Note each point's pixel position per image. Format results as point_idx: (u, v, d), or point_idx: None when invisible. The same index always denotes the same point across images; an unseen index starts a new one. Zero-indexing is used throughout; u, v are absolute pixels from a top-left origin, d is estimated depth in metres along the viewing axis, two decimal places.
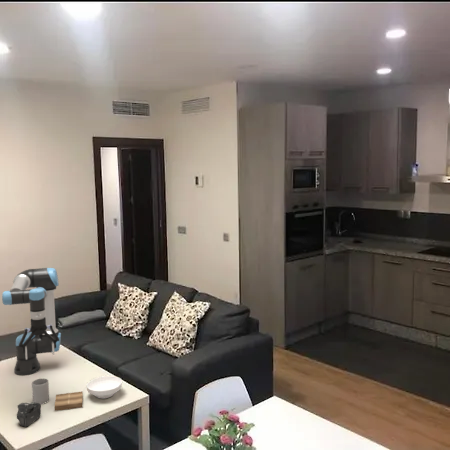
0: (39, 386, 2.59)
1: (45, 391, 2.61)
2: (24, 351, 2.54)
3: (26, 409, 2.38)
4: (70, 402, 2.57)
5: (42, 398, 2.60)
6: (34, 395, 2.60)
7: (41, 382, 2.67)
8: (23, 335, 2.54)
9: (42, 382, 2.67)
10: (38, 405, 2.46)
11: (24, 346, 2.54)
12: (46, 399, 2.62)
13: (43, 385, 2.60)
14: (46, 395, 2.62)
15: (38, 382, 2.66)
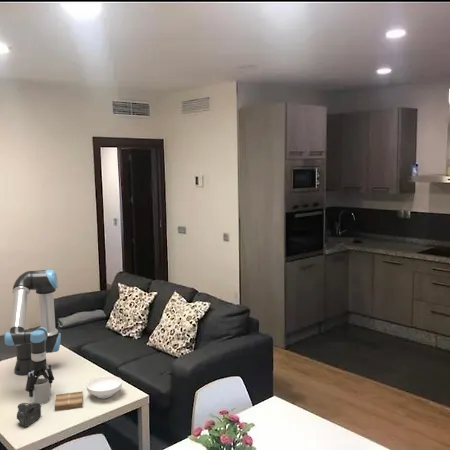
0: (39, 386, 2.59)
1: (45, 391, 2.61)
2: (32, 395, 2.59)
3: (26, 409, 2.38)
4: (70, 402, 2.57)
5: (42, 398, 2.61)
6: None
7: (41, 382, 2.67)
8: (29, 380, 2.58)
9: (42, 382, 2.67)
10: (38, 405, 2.46)
11: (32, 390, 2.59)
12: (46, 399, 2.62)
13: (43, 385, 2.60)
14: (46, 395, 2.62)
15: (38, 382, 2.66)
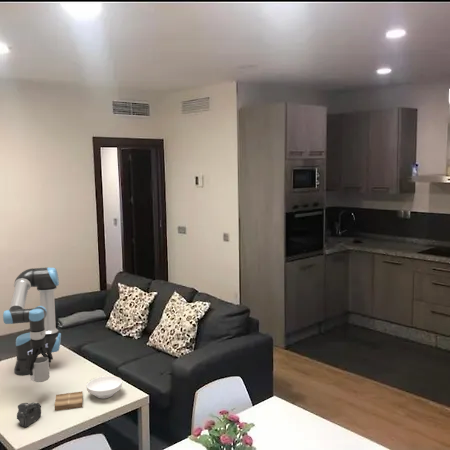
0: (39, 364, 2.59)
1: (45, 369, 2.61)
2: (32, 373, 2.59)
3: (26, 410, 2.38)
4: (70, 402, 2.57)
5: (42, 376, 2.60)
6: None
7: (41, 360, 2.66)
8: (28, 358, 2.57)
9: (42, 360, 2.67)
10: (38, 405, 2.46)
11: (32, 368, 2.58)
12: (46, 377, 2.62)
13: (43, 363, 2.60)
14: (46, 373, 2.62)
15: (38, 360, 2.66)
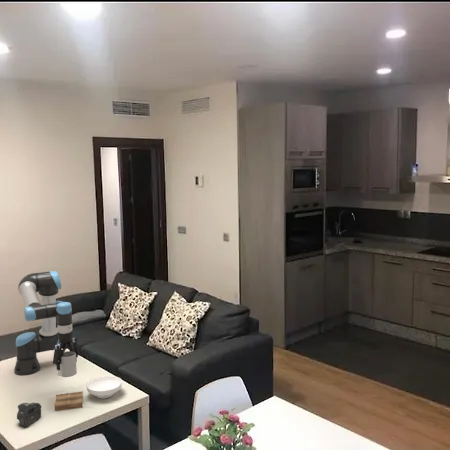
0: (67, 358, 2.53)
1: (73, 363, 2.56)
2: (59, 368, 2.53)
3: (26, 410, 2.38)
4: (70, 402, 2.57)
5: (70, 371, 2.55)
6: (62, 368, 2.54)
7: (68, 355, 2.61)
8: (56, 352, 2.51)
9: (69, 355, 2.61)
10: (38, 405, 2.46)
11: (60, 363, 2.53)
12: (74, 372, 2.56)
13: (71, 357, 2.54)
14: (73, 368, 2.56)
15: (65, 355, 2.60)
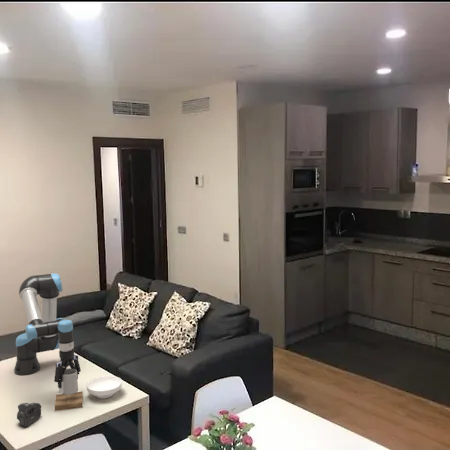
0: (68, 376, 2.54)
1: (74, 381, 2.57)
2: (60, 386, 2.55)
3: (26, 410, 2.38)
4: (70, 402, 2.57)
5: (71, 388, 2.56)
6: (63, 386, 2.55)
7: (69, 372, 2.62)
8: (57, 370, 2.53)
9: (70, 372, 2.62)
10: (38, 405, 2.46)
11: (61, 381, 2.54)
12: (75, 389, 2.58)
13: (72, 375, 2.55)
14: (75, 386, 2.57)
15: (66, 372, 2.62)
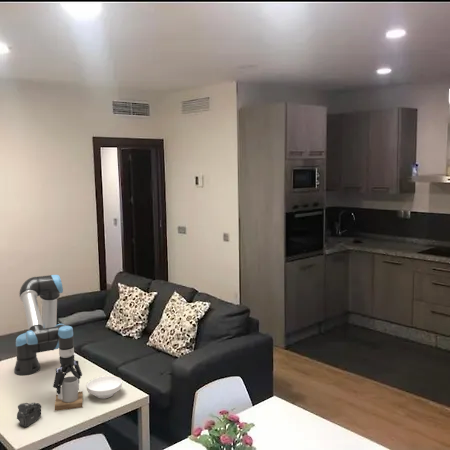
0: (69, 384, 2.55)
1: (75, 389, 2.57)
2: (59, 391, 2.54)
3: (26, 410, 2.38)
4: (70, 402, 2.57)
5: (72, 396, 2.56)
6: (64, 393, 2.56)
7: (70, 380, 2.63)
8: (57, 376, 2.53)
9: (71, 380, 2.63)
10: (38, 405, 2.45)
11: (60, 386, 2.54)
12: (75, 397, 2.58)
13: (73, 383, 2.56)
14: (75, 394, 2.58)
15: (67, 380, 2.62)
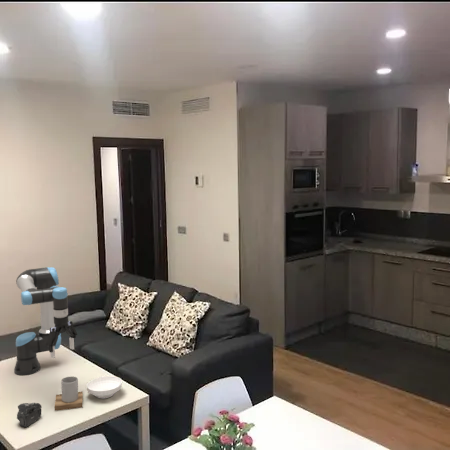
0: (69, 384, 2.55)
1: (75, 389, 2.57)
2: (52, 350, 2.58)
3: (26, 410, 2.38)
4: (70, 402, 2.57)
5: (72, 396, 2.56)
6: (64, 393, 2.56)
7: (70, 380, 2.63)
8: (51, 335, 2.57)
9: (71, 380, 2.63)
10: (39, 406, 2.45)
11: (52, 345, 2.57)
12: (75, 397, 2.58)
13: (73, 383, 2.56)
14: (75, 394, 2.58)
15: (67, 380, 2.62)
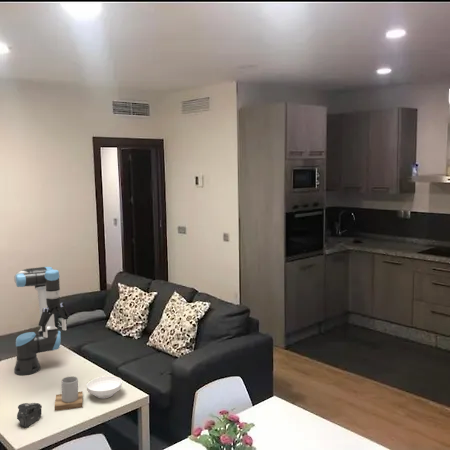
0: (69, 384, 2.55)
1: (75, 389, 2.57)
2: (44, 330, 2.68)
3: (26, 410, 2.38)
4: (70, 402, 2.57)
5: (72, 396, 2.56)
6: (64, 393, 2.56)
7: (70, 380, 2.63)
8: (43, 315, 2.67)
9: (71, 380, 2.63)
10: (39, 406, 2.45)
11: (45, 325, 2.68)
12: (75, 397, 2.58)
13: (73, 383, 2.56)
14: (75, 394, 2.58)
15: (67, 380, 2.62)
